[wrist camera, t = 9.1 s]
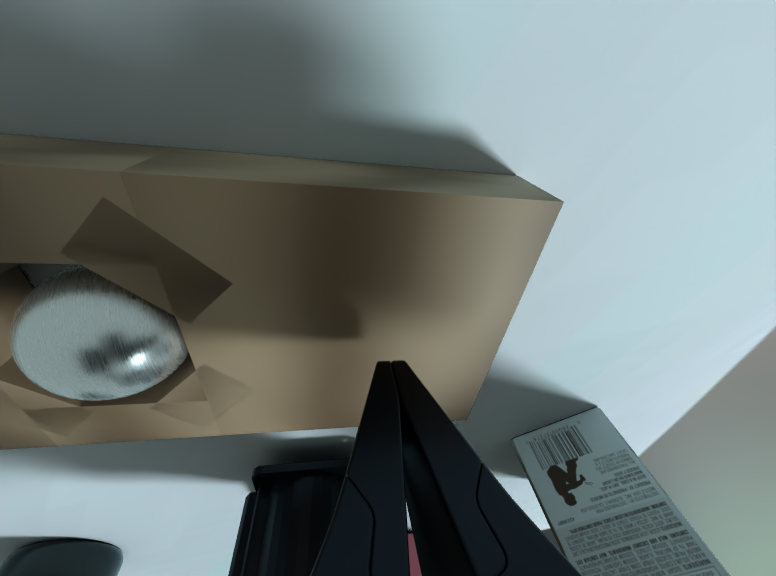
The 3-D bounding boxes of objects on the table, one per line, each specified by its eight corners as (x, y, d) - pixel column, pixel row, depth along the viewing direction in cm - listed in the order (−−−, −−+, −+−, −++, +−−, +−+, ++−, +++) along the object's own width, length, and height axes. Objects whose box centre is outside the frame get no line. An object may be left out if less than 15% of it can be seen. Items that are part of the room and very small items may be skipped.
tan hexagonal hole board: (517, 175, 10) (564, 201, 8) (450, 374, 16) (466, 419, 13) (-200, 117, 7) (-425, 135, 5) (40, 390, 13) (-18, 450, 10)
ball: (171, 302, 7) (-88, 339, 6) (208, 404, 9) (32, 452, 8) (183, 233, 10) (15, 245, 8) (209, 323, 12) (80, 347, 11)
